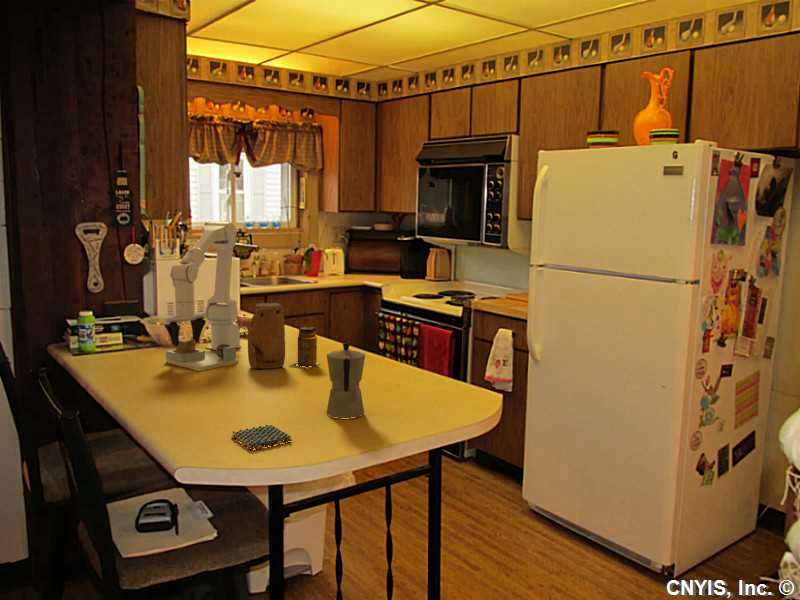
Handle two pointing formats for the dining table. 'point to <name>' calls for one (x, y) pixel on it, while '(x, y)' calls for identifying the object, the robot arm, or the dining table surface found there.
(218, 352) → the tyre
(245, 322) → the bull figurine
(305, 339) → the condiment
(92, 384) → the dining table surface
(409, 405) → the dining table surface
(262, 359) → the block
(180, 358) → the chassis
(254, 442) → the woven mat
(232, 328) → the robot arm
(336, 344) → the dining table surface
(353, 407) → the coffeepot
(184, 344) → the walnut block
